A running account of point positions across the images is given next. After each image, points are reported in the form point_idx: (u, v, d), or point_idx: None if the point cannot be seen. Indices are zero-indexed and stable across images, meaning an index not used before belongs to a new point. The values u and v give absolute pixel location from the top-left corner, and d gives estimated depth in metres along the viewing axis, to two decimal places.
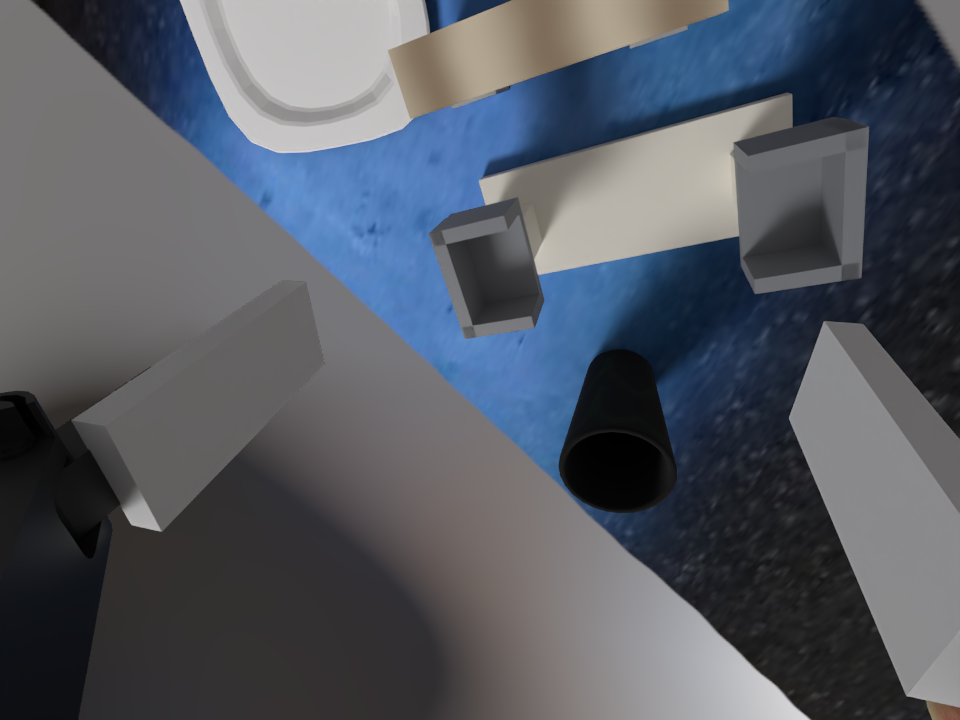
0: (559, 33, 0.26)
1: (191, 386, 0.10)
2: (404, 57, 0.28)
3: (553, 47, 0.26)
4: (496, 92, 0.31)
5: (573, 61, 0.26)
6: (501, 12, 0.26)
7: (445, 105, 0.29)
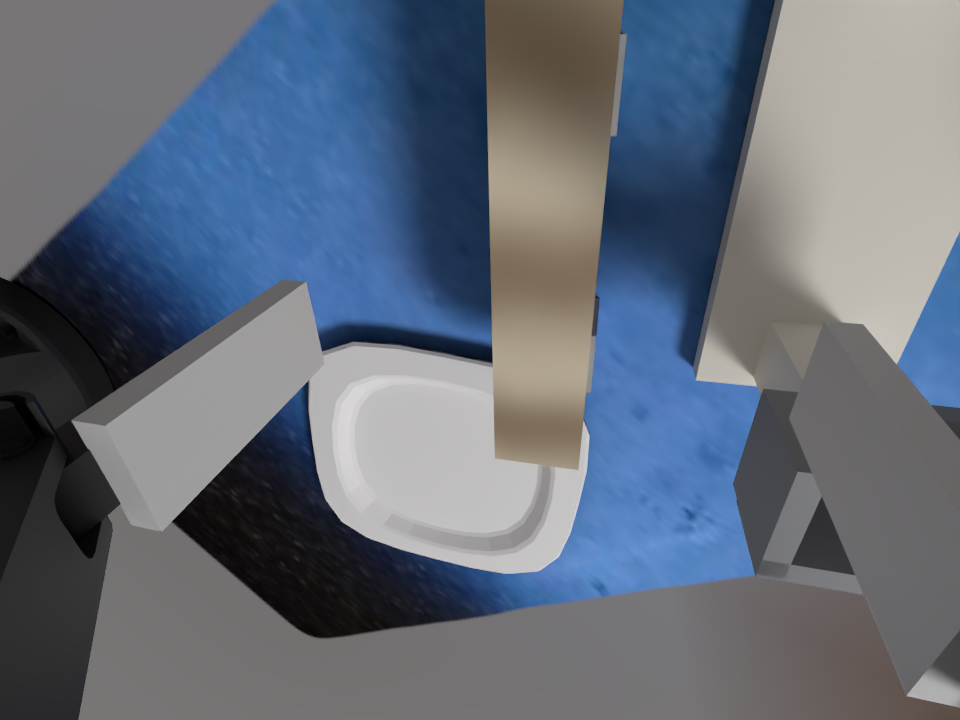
0: (552, 257, 0.17)
1: (191, 386, 0.10)
2: (508, 445, 0.21)
3: (566, 270, 0.17)
4: (594, 334, 0.22)
5: (596, 246, 0.16)
6: (500, 323, 0.18)
7: (580, 426, 0.20)
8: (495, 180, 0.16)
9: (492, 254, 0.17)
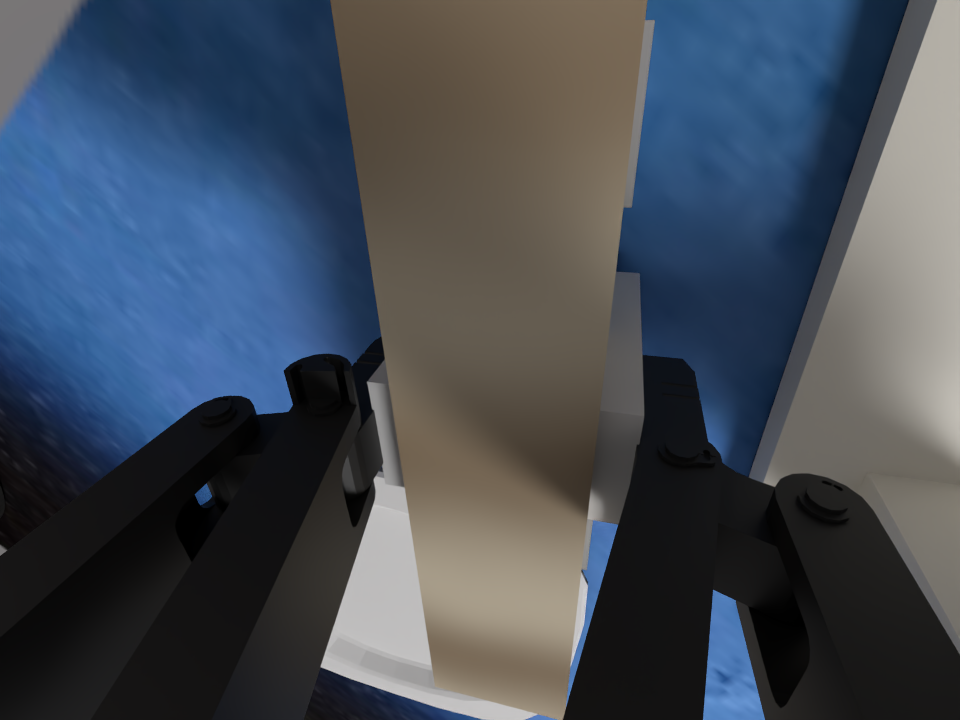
0: (507, 444, 0.09)
1: None
2: (453, 676, 0.14)
3: (534, 467, 0.09)
4: None
5: (591, 436, 0.08)
6: (425, 527, 0.11)
7: (566, 673, 0.12)
8: (390, 311, 0.08)
9: (400, 429, 0.09)
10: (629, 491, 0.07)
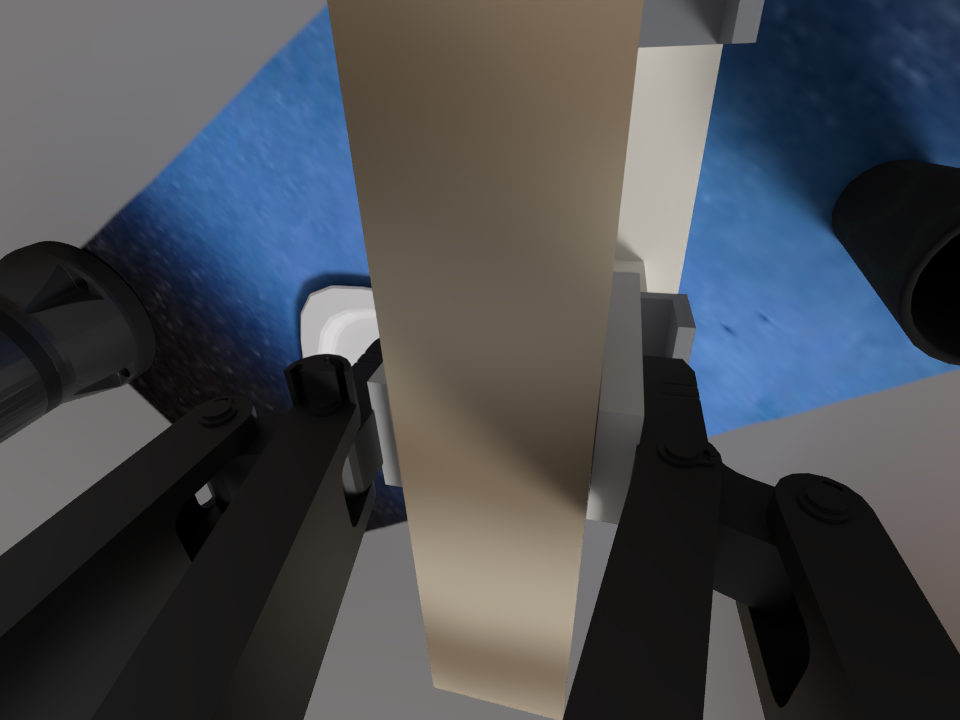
0: (505, 445, 0.09)
1: None
2: (452, 676, 0.14)
3: (532, 468, 0.09)
4: None
5: (589, 437, 0.08)
6: (423, 528, 0.11)
7: (564, 673, 0.12)
8: (388, 311, 0.08)
9: (398, 429, 0.09)
10: (629, 491, 0.07)
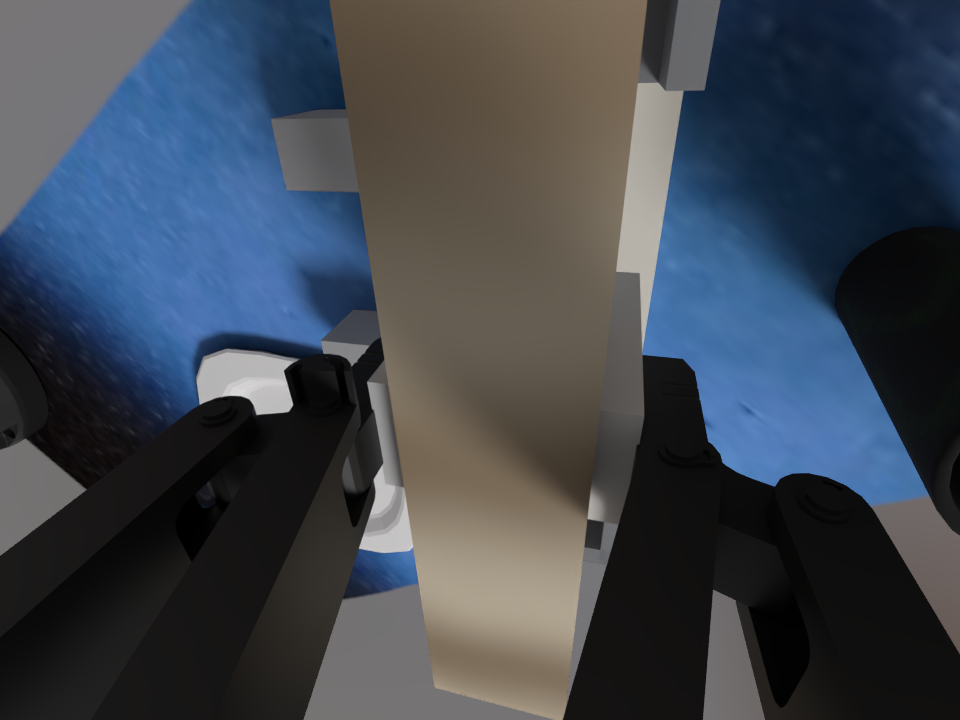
0: (506, 446, 0.09)
1: None
2: (453, 677, 0.14)
3: (534, 468, 0.09)
4: None
5: (591, 437, 0.08)
6: (425, 529, 0.11)
7: (566, 674, 0.12)
8: (389, 312, 0.08)
9: (400, 430, 0.09)
10: (629, 491, 0.07)
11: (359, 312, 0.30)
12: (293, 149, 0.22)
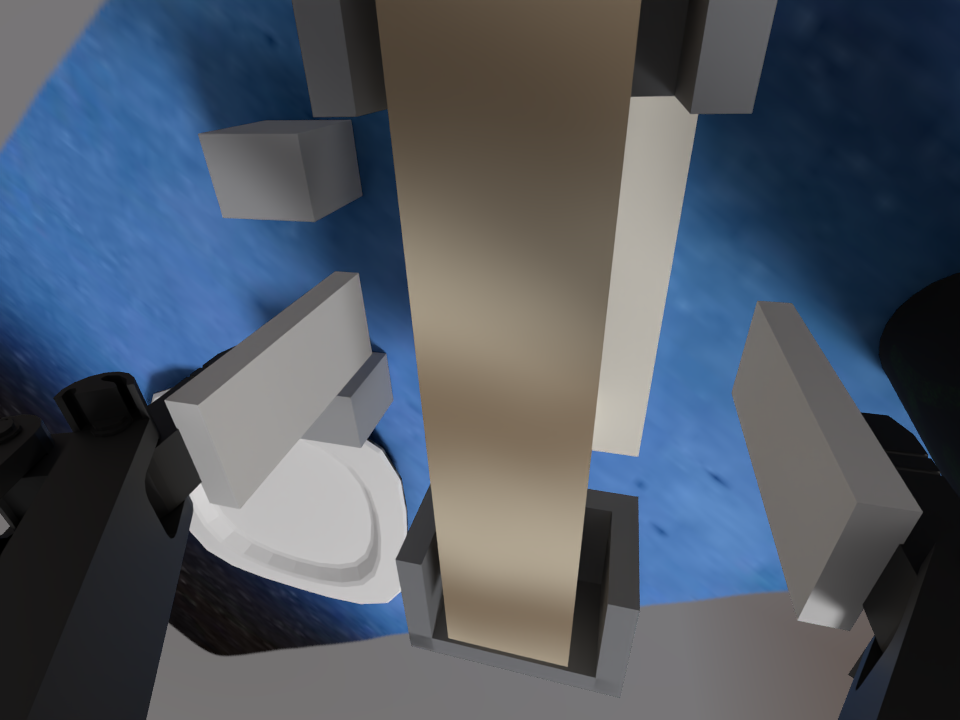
0: (519, 399, 0.10)
1: (266, 370, 0.11)
2: (466, 626, 0.15)
3: (543, 419, 0.10)
4: (351, 395, 0.23)
5: (593, 388, 0.09)
6: (444, 480, 0.12)
7: (570, 618, 0.13)
8: (418, 277, 0.09)
9: (424, 386, 0.10)
10: (919, 601, 0.06)
11: None
12: (227, 170, 0.18)
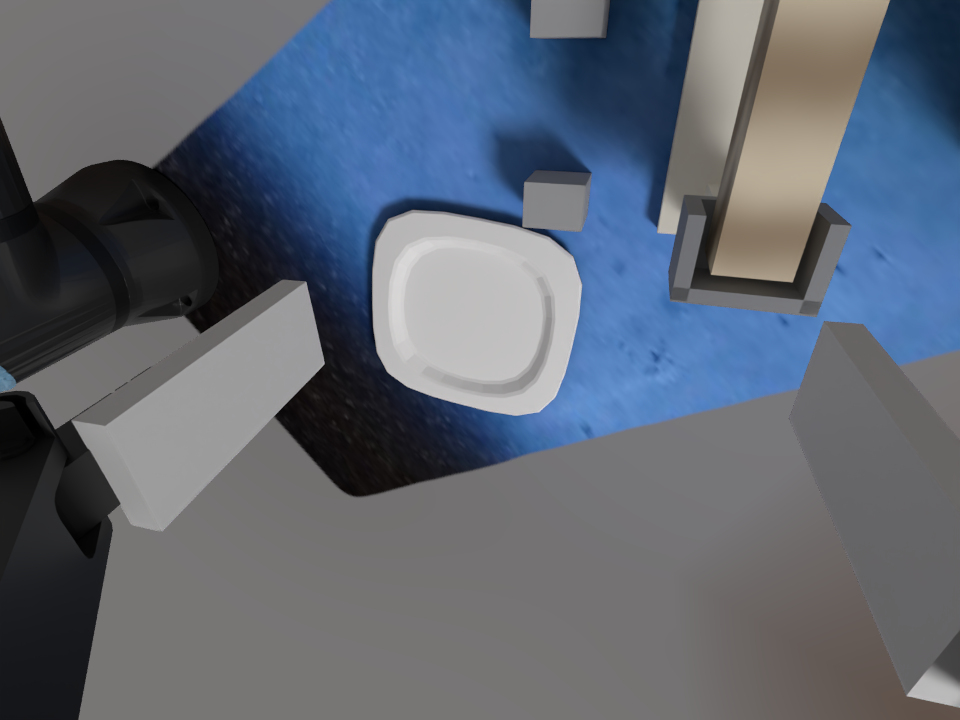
0: (827, 52, 0.19)
1: (191, 386, 0.10)
2: (728, 259, 0.24)
3: (837, 65, 0.19)
4: (584, 185, 0.32)
5: (874, 38, 0.19)
6: (757, 125, 0.21)
7: (807, 233, 0.22)
8: None
9: (769, 52, 0.20)
10: None
11: (542, 171, 0.36)
12: None
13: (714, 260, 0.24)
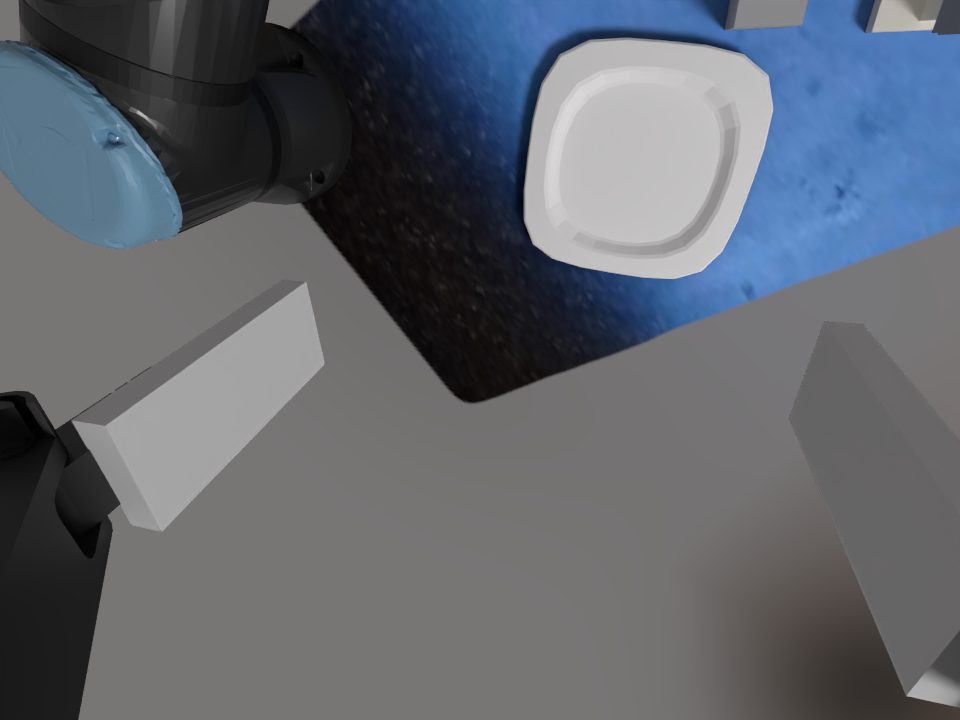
0: None
1: (191, 386, 0.10)
2: None
3: None
4: None
5: None
6: None
7: None
8: None
9: None
10: None
11: None
12: None
13: None
